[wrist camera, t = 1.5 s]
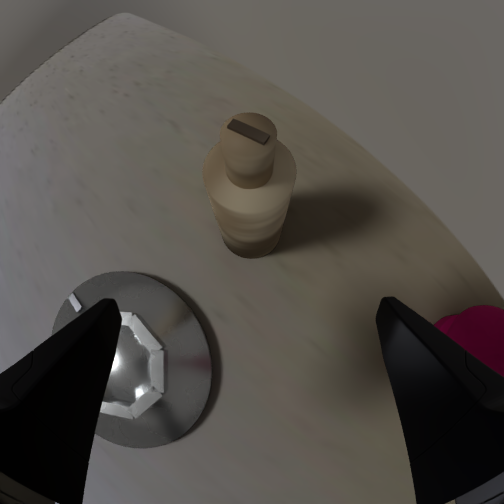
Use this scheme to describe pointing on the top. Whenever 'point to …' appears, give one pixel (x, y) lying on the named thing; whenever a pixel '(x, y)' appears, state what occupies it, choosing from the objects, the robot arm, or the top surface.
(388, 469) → the top surface
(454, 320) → the pepper mill
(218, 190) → the knob
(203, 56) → the top surface
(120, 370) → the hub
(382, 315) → the robot arm
